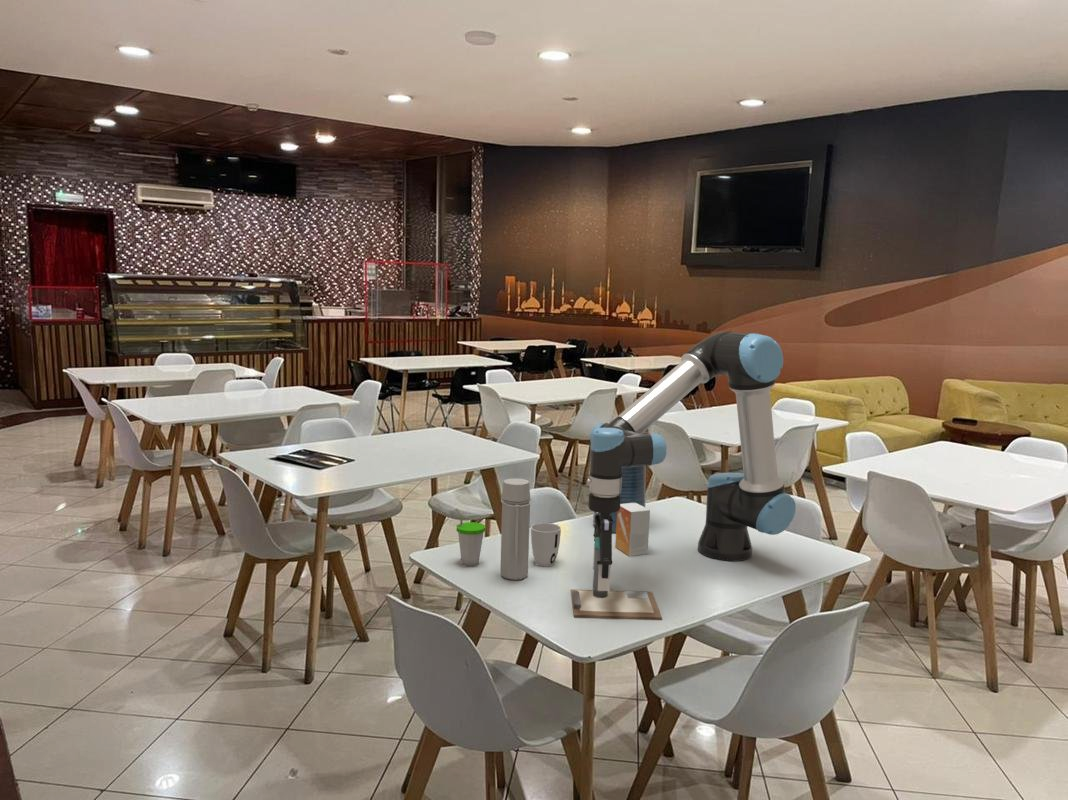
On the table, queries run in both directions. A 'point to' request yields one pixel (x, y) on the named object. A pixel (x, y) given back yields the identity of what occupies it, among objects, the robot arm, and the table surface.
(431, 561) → the table surface
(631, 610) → the tan flat rectangular tray
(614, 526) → the vase
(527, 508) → the water bottle
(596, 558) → the marker
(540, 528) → the cup
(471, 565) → the cup
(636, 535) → the small box
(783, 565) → the table surface
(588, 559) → the table surface
